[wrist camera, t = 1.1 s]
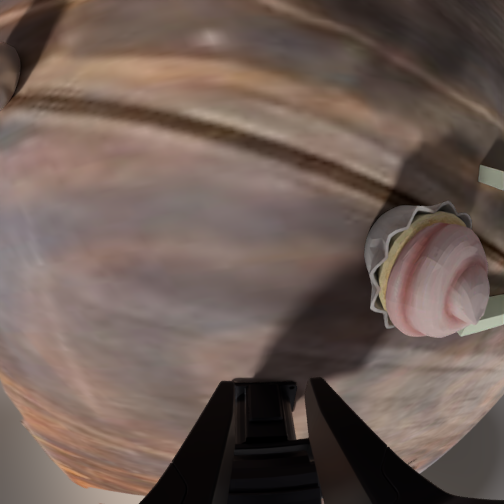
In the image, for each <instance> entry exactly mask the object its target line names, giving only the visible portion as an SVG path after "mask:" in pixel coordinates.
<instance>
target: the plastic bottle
mask: <svg viewBox="0 0 504 504" xmlns="http://www.w3.org/2000/svg"><path fill="white" fill-rule="evenodd" d="M20 68H21V64H20V58H19V56H18V53H17V51H16V49H15V48H14V47H12V46H10V45H8V44H6V43H4V42H0V110H1V109H2V108H3V107H4V106H5V105H6V104H7V103H8V102H9V100H10V99H11V97H12V95H13V93H14V91H15V89H16V86H17V83H18V80H19V76H20Z"/></svg>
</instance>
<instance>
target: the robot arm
mask: <svg viewBox="0 0 504 504" xmlns="http://www.w3.org/2000/svg"><path fill="white" fill-rule="evenodd" d="M296 390H297V384H296V382H272V383H234V382H233V381H221V382H220V383H219V385H218V387H217V388H216V390H215V392H214V394H213V395H212V397H211V399H210V400H209V402H208V404H207V405H206V407H205V409H204V410H203V412H202V414H201V415H200V417H199V419H198V420H197V422H196V423H195V425H194V427H193V428H192V430H191V432H190V433H189V435H188V436H187V438H186V440H185V441H184V443H183V444H182V446H181V448H180V449H179V451H178V452H177V454H176V455H175V457H174V459H173V460H172V463H170V465H169V466H168V468H167V469H166V471H165V472H164V474H163V475H162V477H161V478H160V479H159V481H158V482H157V484H156V485H155V486H154V487H153V488H152V490H151V491H150V492H149V493H148V494H147V495H146V496H145V498H144V499H143V500H142V501H141V502H140V503H139V504H321V499H322V498H323V499H324V504H504V500H489V499H477V498H468V497H460V496H455V495H452V494H449V493H447V492H445V491H443V490H442V489H440V488H439V487H437V486H436V485H434V484H433V483H431V482H430V481H429V480H427V479H426V478H424V477H423V476H421V475H420V474H419V473H418V472H416V471H415V470H414V469H412V468H411V467H410V466H409V465H407V464H406V463H405V462H404V461H403V460H402V459H401V458H400V457H398V456H397V455H396V454H395V453H394V452H393V451H392V450H391V449H390V448H389V447H387V445H386V444H385V443H384V442H383V441H382V440H381V439H380V438H379V437H378V436H377V435H376V434H375V433H374V432H373V431H372V430H371V429H370V428H369V427H368V426H367V424H366V423H365V422H364V421H363V420H362V419H361V418H360V417H359V416H358V415H357V414H356V413H355V412H354V411H353V410H352V409H351V408H350V407H349V406H348V405H347V404H346V403H345V402H344V401H343V399H342V398H341V397H340V396H339V395H338V394H337V393H336V392H335V391H334V390H333V389H332V388H331V387H330V386H329V385H328V383H327V382H326V381H325V380H324V379H323V378H321V377H316V378H310V379H309V380H308V383H307V387H306V392H305V405H306V414H307V424H308V433H309V437H308V438H306V439H298V440H296V435H295V429H294V422H293V416H292V410H293V405H294V400H295V395H296Z"/></svg>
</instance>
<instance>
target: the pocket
mask: <svg viewBox="0 0 504 504" xmlns="http://www.w3.org/2000/svg"><path fill="white" fill-rule="evenodd" d="M478 182H481V183H484V184H487V185H489V186H492V187H495V188H497V189H500V190H503V191H504V172H503V171H500V170H497V169H494V168H490V167H487V166H483V165H480V168H479V177H478ZM503 324H504V294H502V295H497V296H491V297H489V300H488V303H487V306H486V309H485V313H484V315H483V316H482V317H481V318H480V320H479V322H478V323H477V324H476V325H473V324H470V325H469V326H467V327H465V328H463V329H461V330H460V331H457V333H458V334H459V335H460V336H465V335H469V334H472V333H476V332H480V331H483V330H487V329H490V328H493V327H497V326H500V325H503Z"/></svg>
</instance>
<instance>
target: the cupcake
mask: <svg viewBox="0 0 504 504" xmlns="http://www.w3.org/2000/svg"><path fill="white" fill-rule="evenodd" d="M364 258H365V263H366V266H367V269H368V272H369V276H370V280H371V284H372V293H371V305H370V309H372V310H373V311H375V312H379V313H383V316H384V322H385V327H386V328H394V327H397V328H398V329H399V330H400V331H401V332H403V333H404V334H406V335H409V336H415V337H420V336H431V337H436V338H442V337H445V336H448V335H450V334H453V333H455V332H457V331H460V330H461V329H463V328H465V327H467V326H469V325H470V324H473V325H476V324H477V323H478V322H479V320H480V318H481V317H482V316H483V315H484V313H485V309H486V306H487V303H488V300H489V294H490V285H489V281H488V277H487V274H488V263H487V259H486V255H485V252H484V249H483V247H482V244H481V242H480V240H479V238H478V237H477V235H476V234H475V233H474V232H473V231H472V220H471V218H470V215H468V214H467V213H457V211H456V209H455V207H454V205H453V204H452V203H451V202H450V201H449V200H448V201H445V202H442V203H439V204H436V205H433V206H412V205H401V206H398V207H395V208H393V209H390V210H389V211H387V212H386V213H384V214H383V215H381V216H380V217H379V218H378V220H377V221H376V222H375V223H374V225H373V226H372V228H371V230H370V231H369V233H368V236H367V240H366V244H365V252H364Z"/></svg>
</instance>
